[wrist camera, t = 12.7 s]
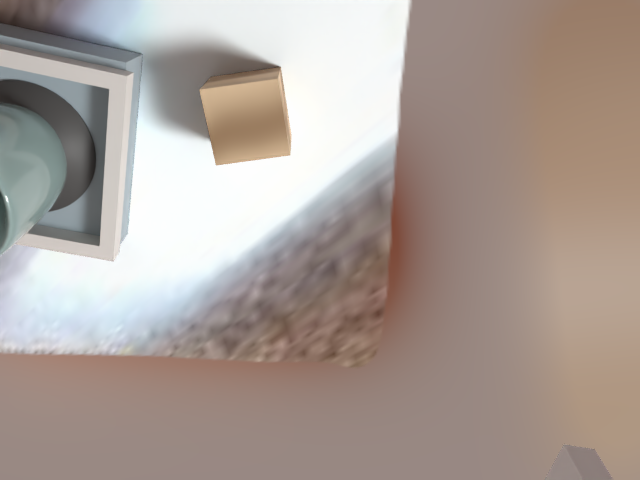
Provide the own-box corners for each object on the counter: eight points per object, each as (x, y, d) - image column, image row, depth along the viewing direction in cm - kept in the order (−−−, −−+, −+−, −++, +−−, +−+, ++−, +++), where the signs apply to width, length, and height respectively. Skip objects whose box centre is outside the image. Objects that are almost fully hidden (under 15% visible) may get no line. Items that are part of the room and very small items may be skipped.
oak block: (210, 76, 40) (199, 89, 35) (280, 66, 40) (277, 78, 35) (225, 144, 42) (216, 165, 37) (291, 135, 42) (290, 155, 37)
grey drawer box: (-48, 12, 37) (-101, 18, 32) (150, 56, 39) (127, 67, 34) (-37, 217, 44) (-81, 248, 39) (132, 248, 45) (111, 281, 40)
